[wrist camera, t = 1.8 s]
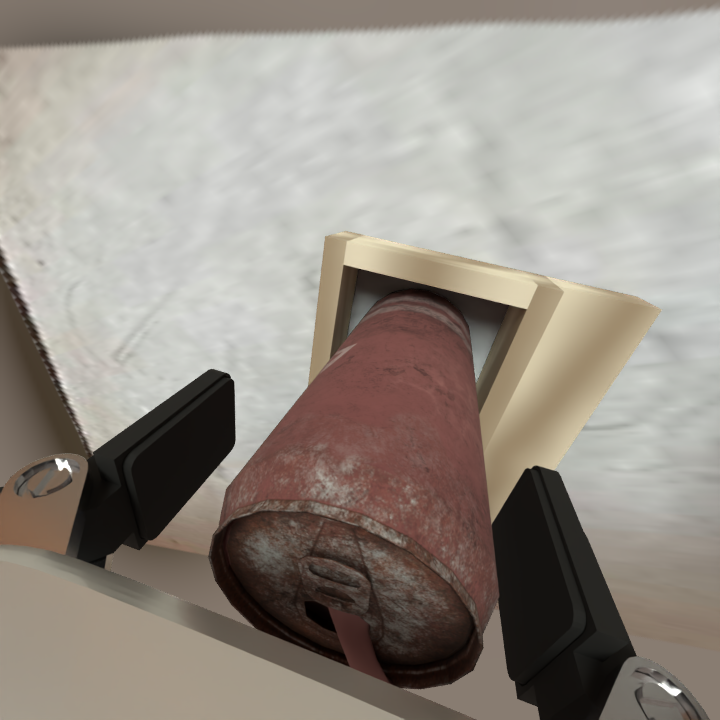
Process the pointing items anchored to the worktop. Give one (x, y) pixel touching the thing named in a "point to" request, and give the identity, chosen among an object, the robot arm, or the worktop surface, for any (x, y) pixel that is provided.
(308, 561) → the can
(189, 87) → the worktop surface
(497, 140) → the worktop surface
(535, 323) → the open rectangular box frame
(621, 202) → the worktop surface
